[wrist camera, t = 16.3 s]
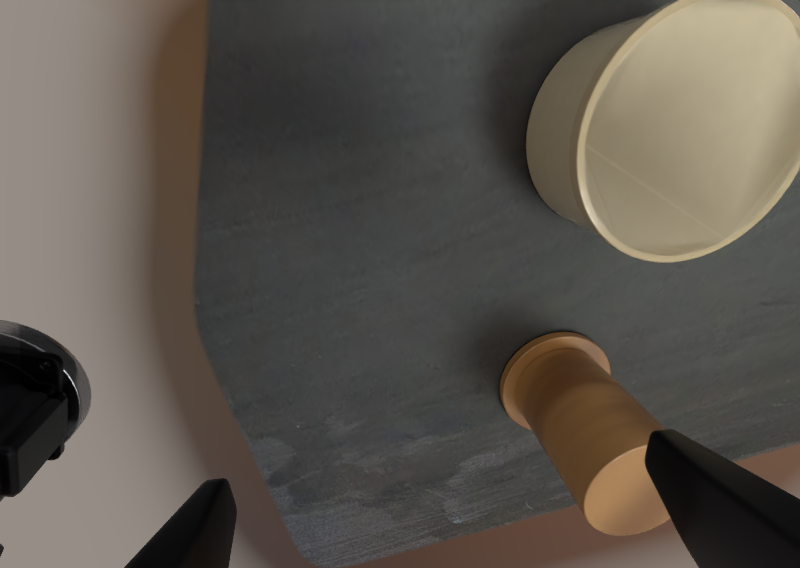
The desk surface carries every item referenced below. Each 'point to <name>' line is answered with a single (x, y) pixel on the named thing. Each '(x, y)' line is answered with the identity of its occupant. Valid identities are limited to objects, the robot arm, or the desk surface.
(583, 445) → the flanged wooden cylinder
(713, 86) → the cream ceramic pot
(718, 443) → the desk surface
